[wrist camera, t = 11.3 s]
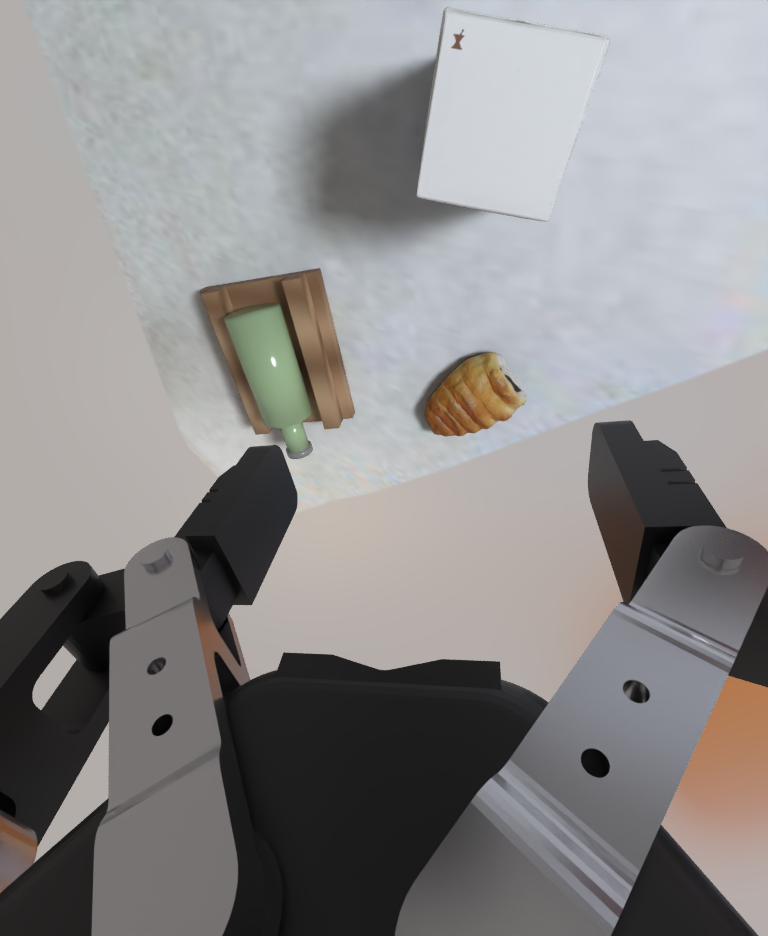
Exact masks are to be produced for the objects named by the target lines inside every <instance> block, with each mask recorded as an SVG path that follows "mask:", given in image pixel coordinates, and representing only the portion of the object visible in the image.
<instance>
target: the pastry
mask: <svg viewBox="0 0 768 936" xmlns="http://www.w3.org/2000/svg"><path fill="white" fill-rule="evenodd" d="M519 387H520V383H519V381H518V380H517V378H516V377H515V376H514V375H513V374H512V373H511V372H510V371H509V370H508V369H507V363H506V361H505V360H504V359H503V357H502V356H501V355H499V354H497V353H495V352H490V353H484V354H481V355H477V356H474V357H471V358H469V359H467V360H465V361H464V362H463V363H461V364H460V365H459V366H458V367H457V368H456V369H455V370H454V371H453V372H452V373H451V374H449V375H448V376H447V377H446V379H445V380H444V381H443V382H442V383H441V385H440V386H439V387H438V388H437V390H436V391H435V392H434V393H433V394H432V395H431V397H430V398H429V400H428V403H427V405H426V411H425V417H426V421H427V422H428V424H429V425H430V427H431V430H432V431H433V433H434V434H437V435H443V436H453V435H457V436H463V435H465V434H466V433H476V432H478V431H479V430H481V429H488V428H490V427H491V426H493V425H494V423H496V422H498V421H499V420H500V421H506V420H508V419H509V418H510V417H511V416H512V414H513V413H514V412H515V410H516V409H517V408H518V407H520V406H521V405H524V404H525V402H526V394H525V393H524V392H523V391H522V390H521V389H520V388H519Z"/></svg>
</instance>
